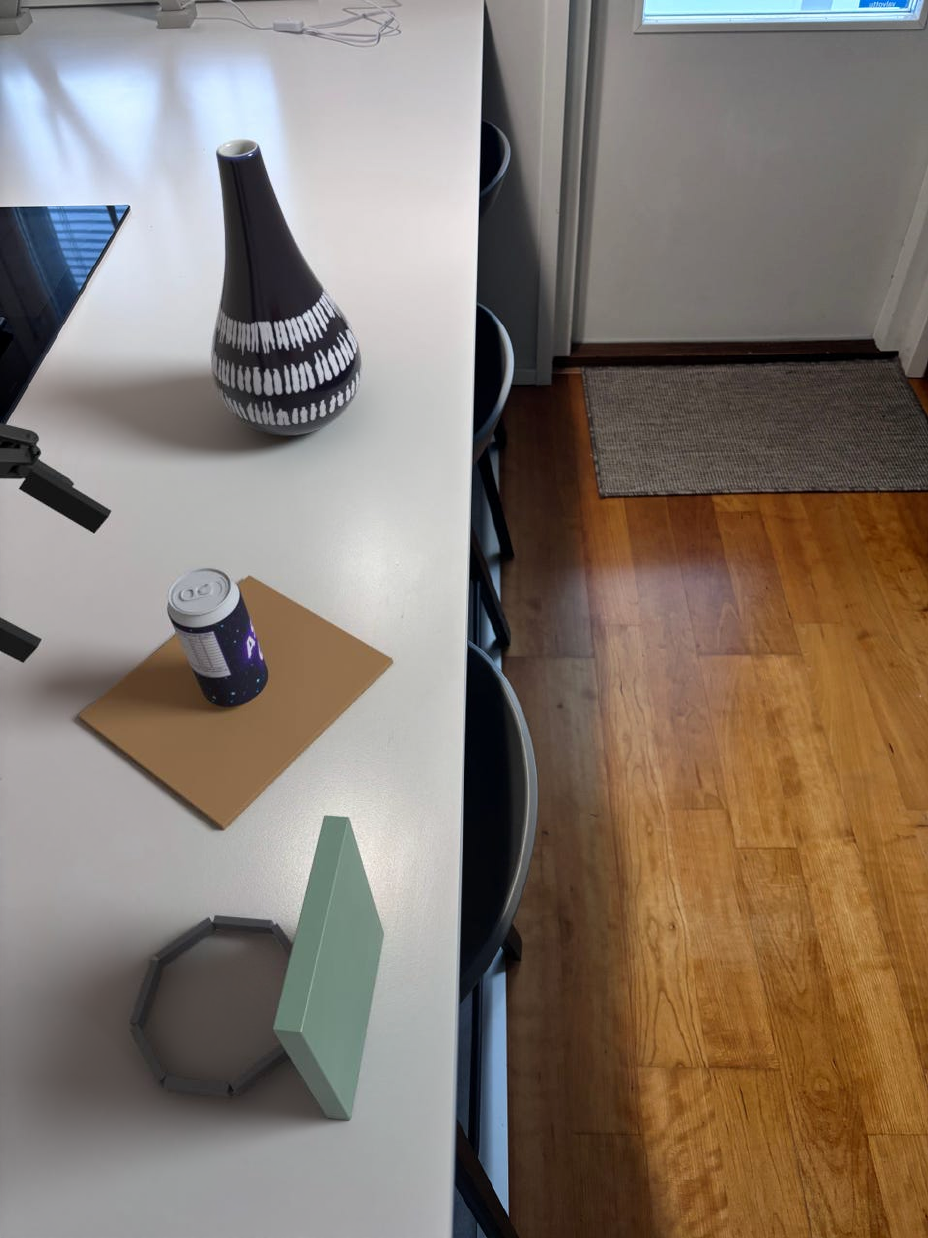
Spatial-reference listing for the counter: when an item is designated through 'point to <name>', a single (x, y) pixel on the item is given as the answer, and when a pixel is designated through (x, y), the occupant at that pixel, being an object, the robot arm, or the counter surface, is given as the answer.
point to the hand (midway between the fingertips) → (70, 583)
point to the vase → (275, 314)
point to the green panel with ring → (302, 980)
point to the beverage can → (217, 636)
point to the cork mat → (237, 707)
